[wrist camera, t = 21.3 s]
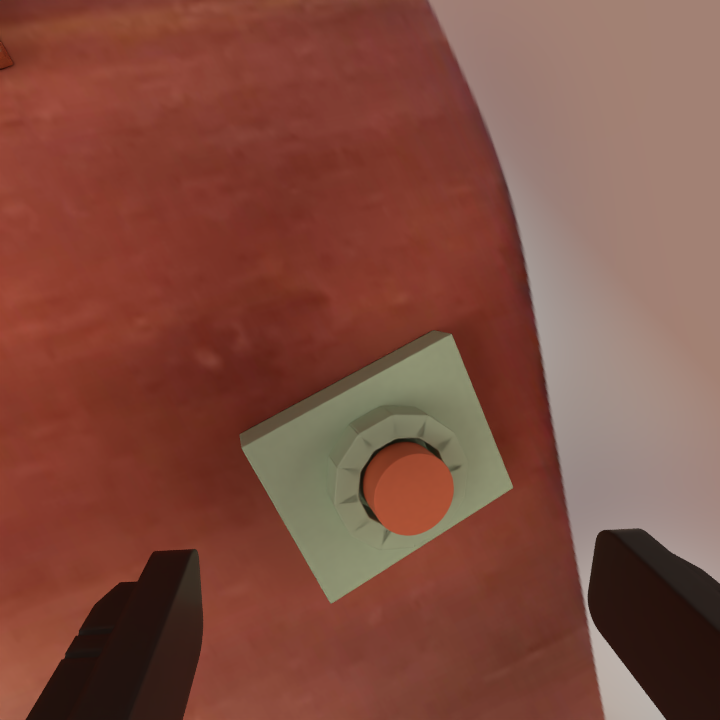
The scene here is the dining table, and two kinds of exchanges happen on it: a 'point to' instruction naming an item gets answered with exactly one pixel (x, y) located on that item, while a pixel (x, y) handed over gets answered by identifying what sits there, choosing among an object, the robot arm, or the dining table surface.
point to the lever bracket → (4, 57)
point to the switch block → (358, 447)
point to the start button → (408, 488)
